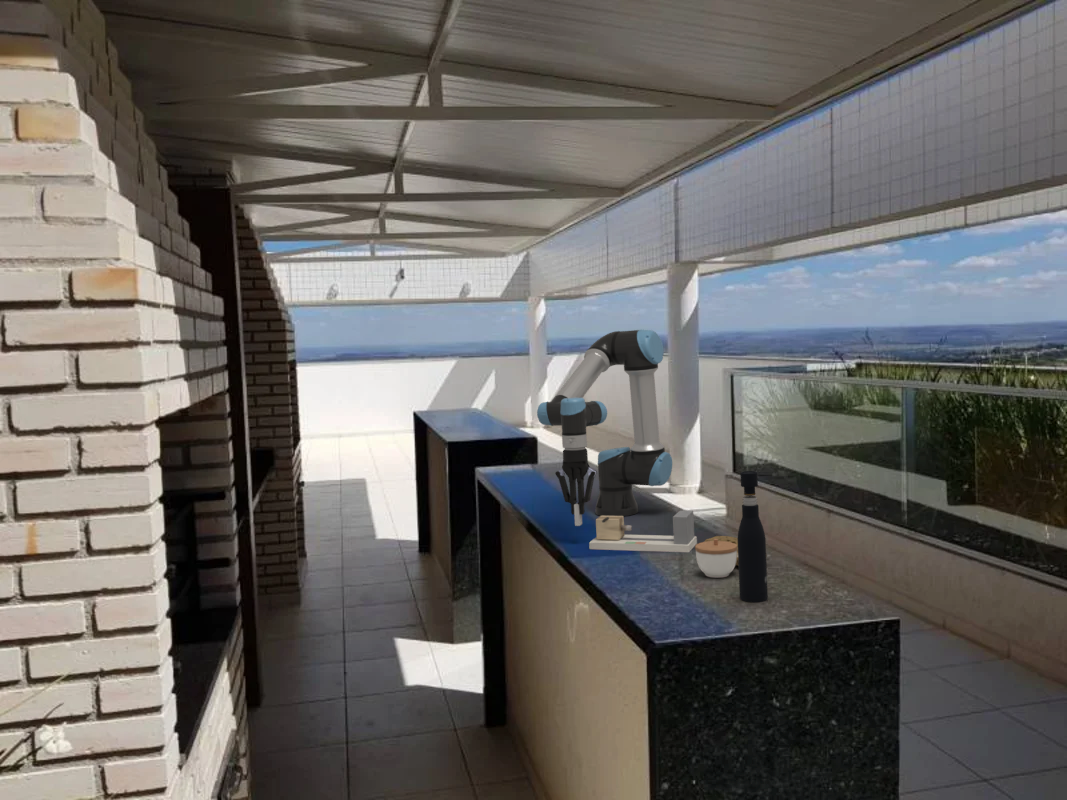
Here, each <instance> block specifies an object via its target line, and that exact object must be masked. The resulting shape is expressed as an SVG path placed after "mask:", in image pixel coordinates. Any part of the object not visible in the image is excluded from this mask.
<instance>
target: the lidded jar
mask: <svg viewBox="0 0 1067 800" xmlns="http://www.w3.org/2000/svg"><path fill="white" fill-rule="evenodd" d="M694 549H695V559H696V563H697V566H698V568H699V570H700V571H701V572H702V573H703V574H704V575H705V576H706V577H708V578H714V579H717V578H718V579H719V578H726V577H729V576H730V574H731V573H732V572H733V570H734V569H735V567H736V566H737V565H736V561H737V545H736V544H735V543H732V542H726V541H718V539H714V541H707V542H704V541H702V542H699V543H698V542H697V544H696V545H695V546H694Z"/></svg>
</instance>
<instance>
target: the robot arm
mask: <svg viewBox="0 0 1067 800" xmlns="http://www.w3.org/2000/svg"><path fill="white" fill-rule="evenodd" d="M664 353H665V352H664V345H663V341H662V339H661V337H660V335H659V333H657V332H656V331H654V330H652V329H636V330H635V329H634V330H620V331H619V330H618V331H612V332H609V333H607V334H604V335H603V336H601V337H600V338H599V339H597V340H596V341H595V342H593V343H592V344H591V345H590V346H589V348H587V350H586V351H585V352H584V354H583V360H582V361H581V362H580V364H579V365H578V366H577V368H576V369H575V370H574V371H573V372H572V374H571V375H570V376H569V378H568V379H567V381H566V382H565V383H564V385H563V386H561V388H560V389H559V391H558V392H557V393H556V394H555V396H554V397H553V398H552V400H551V401H545V402H541V403H540V404H539V405H538V406H537V411H536V414H537V415H536V416H537V418H538V421H539V423H540V424H541V425H545V426H552V427H554V426H556V427H558V426H559V427H561V441H562V448H563V450H562V461H563V463H562V467H561V469H559V470H557V471H556V472H555V476H556V477H557V479H558V481H559V484H560V487H561V492H562V496H563V499H564V502H565V503H569V504H570V508H571V509H570V511H571V514H572V515H574V526H575V527H580V526H582V525H583V515H584V514H585V512H586V511H585V509H586V508H585V504H586V503H588V502H589V501H590V500H591V496H592V490H593V486H594V480H595V478H596V475H597V474H598V487H599V488H598V489H599V492H598V496H597V500H596V502H595V503H596V504H595V508H594V509H595V511H594V512H595V515H597V516H599V517H600V516H624V517H626V516H627V517H628V516H633V515H635V514H638V512H639V508H638V507H639V506H638V503H637V501H636V498H635V495H634V492H633V486H648V487H649V486H650V487H654V486H655V487H657V486H658V487H661V486H663V485H665V484H667V482H668V481H669V479H670V477H671V474H672V471H673V457H672V456H671V454H670V452H667V451H666V450H665V445H664V443H662V442H661V441H660V431H659V418H658V406H657V405H658V404H657V396H656V395H657V394H656V391H657V390H656V382H655V372H656V371H657V370H658V369H659V364H661V363H662V361H663V359H664ZM612 366H623V371H624V372H625V373H626V374H627V375H628V378H629V379H628V380H629V391H630V403H631V414H632V428H633V438H634V440H633V441H634V444H633V445H632V446H631V447H630V446H623V447H616V448H610V449H605V450H601V451H599V453H598V455H597V470H598V472H597V470H595V469H592V468H591V467H590V466H591V465H590V464H589V459H588V456H589V455H588V454H589V453H588V449H587V447H588V440H587V439H588V438H587V427H591V426H598V425H600V424H603V423H604V422H605V421H606V419H607V416H608V409H607V406H606V405H605V404H604V403H603V402H601V401H598V400H591V401H585V398H584V396H585V395H586V394H587V393H588V392H589V390H590V388H592V386H593V385H594V383H595V382H596V381H597V379H598V378H599V377H600V375H601V374H602V373H605V372H606V371H608V369H610V367H612ZM586 474H587V476H588V478H587V482H586V488H585V486H584V485H585V483H584V481H585V476H586ZM565 475H566V476H567V478H568V483H569V486H568V483H567V479H566V477H565ZM576 484H577V485H576ZM577 499H578V500H577Z"/></svg>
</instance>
